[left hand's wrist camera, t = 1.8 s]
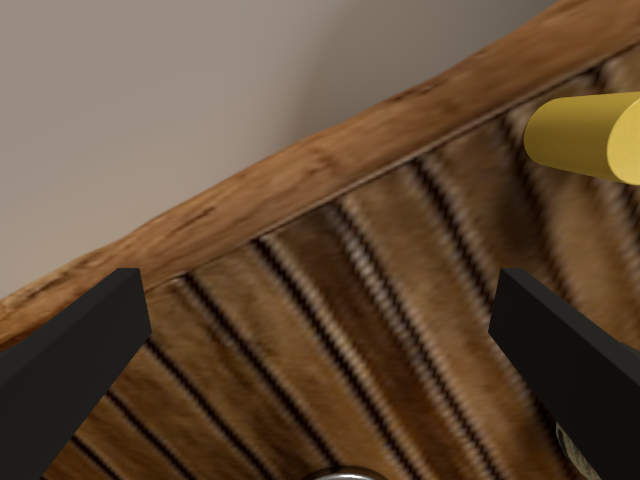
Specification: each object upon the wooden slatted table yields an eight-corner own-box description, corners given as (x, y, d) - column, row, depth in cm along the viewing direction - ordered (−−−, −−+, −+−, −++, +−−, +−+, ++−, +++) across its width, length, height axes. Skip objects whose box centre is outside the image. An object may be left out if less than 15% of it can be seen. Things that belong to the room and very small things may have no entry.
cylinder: (518, 111, 30) (603, 109, 21) (587, 87, 29) (705, 74, 20) (527, 175, 32) (609, 197, 23) (592, 153, 31) (703, 168, 22)
